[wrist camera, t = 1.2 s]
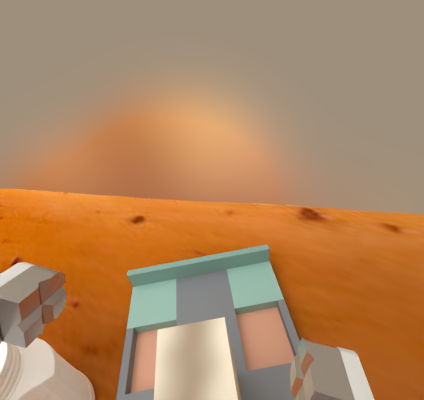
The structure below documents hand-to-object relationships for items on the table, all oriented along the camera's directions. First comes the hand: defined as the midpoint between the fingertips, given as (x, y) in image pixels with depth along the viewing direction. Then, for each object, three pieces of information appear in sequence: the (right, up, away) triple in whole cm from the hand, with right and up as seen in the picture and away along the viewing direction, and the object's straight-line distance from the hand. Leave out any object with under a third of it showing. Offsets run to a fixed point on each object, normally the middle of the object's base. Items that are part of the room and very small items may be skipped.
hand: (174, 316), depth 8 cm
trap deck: (+1, -16, +27) cm, 31 cm away
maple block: (+2, -19, +19) cm, 27 cm away
